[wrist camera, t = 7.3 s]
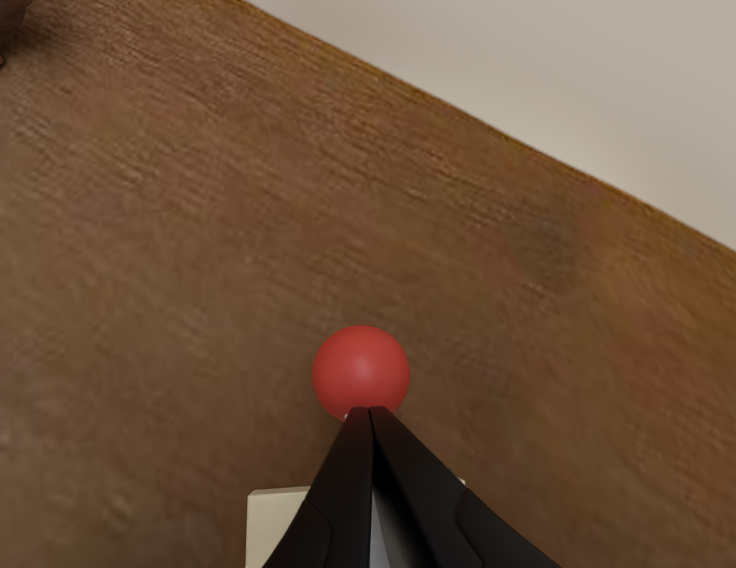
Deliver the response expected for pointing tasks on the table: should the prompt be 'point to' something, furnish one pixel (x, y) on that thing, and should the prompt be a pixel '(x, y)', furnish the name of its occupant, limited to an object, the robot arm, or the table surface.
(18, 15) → the pottery mug
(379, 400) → the lever
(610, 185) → the table surface
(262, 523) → the bracket
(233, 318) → the table surface
